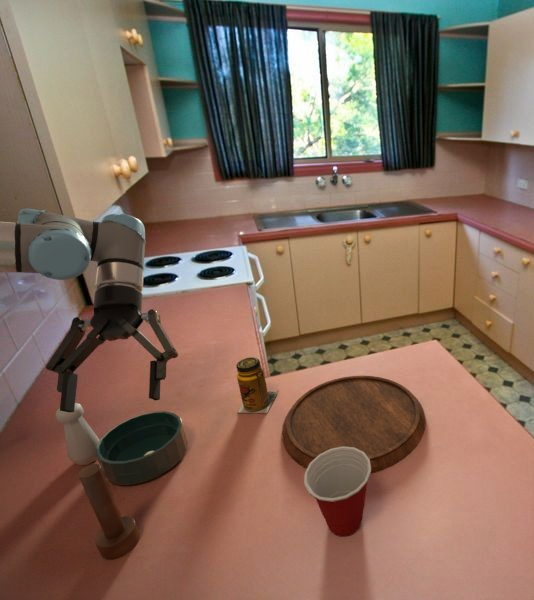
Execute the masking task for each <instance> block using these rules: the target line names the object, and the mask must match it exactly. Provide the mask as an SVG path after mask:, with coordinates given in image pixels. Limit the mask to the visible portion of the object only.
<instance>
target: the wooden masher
mask: <svg viewBox="0 0 534 600" xmlns="http://www.w3.org/2000/svg"><path fill="white" fill-rule="evenodd" d="M77 477H78V479H79V481H80V483H81V486H82V487H83V490H84V493H85V494H86V496H87V499H88V501H89V503H90V505H91V508H92V510H93V512H94V514H95V516H96V520H97V521H98V524H99V525H100V529H99V530H98V531H97V532H96V535H95V536H94V543H95V545H96V547H97V549H98V552H99V554H100V556H101V557H102V558H103V559H105V560H108V561H109V560H111V561H112V560H117V559H120V558H121V557H124V556H126V555H127V554H129V553H130V552H131V551H132V550H133V549H134V548H135V547H136V545H137V544H138V542H139V540H140V537H141V533H140V531H139V528H138V526H137V524H136V520H135V519H134V518H133V517H132V516H128V515H121V512H120V510H119V508H118V505H117V503H116V500H115V498H114V496H113V493H112V491H111V488H110V486H109V483H108V480H107V479H106V477H105V476H104V473H103V471H102V469H101V466H100V464H99V463H90V464H88V465H85V467H83V468H82V469H81V470H80V471H79V472H78V476H77Z"/></svg>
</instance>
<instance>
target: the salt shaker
mask: <svg viewBox="0 0 534 600" xmlns="http://www.w3.org/2000/svg"><path fill="white" fill-rule="evenodd" d="M83 415H84V407H83V406H82V405H81V404H80V403H78V402H75V408H74V412H70V413H69V412H64V411H60V407H59V408H58V409H57V410H56V412H55V418H56V420H57V422H59V423H61V424H62V425H63V430H64V438H65V439H64V440H65V445H66V452H67V457H68V459H69V461H71V462H73V463H74V464H75V465H77V466H89V465H91V464H93V462H96V461H98V459H97V457H96V446H97V444H98V442H99V440H100V438H99V437H98V436H97V434H96V433H95V432H94V430H93V428H92V427H91V426H90V425H89V423H88V422H87V420H86V419H85V418H84V416H83Z"/></svg>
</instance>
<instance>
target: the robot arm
mask: <svg viewBox="0 0 534 600" xmlns="http://www.w3.org/2000/svg"><path fill="white" fill-rule="evenodd" d="M146 244H147V242H146V227H145V225H144V223H143V222H142V220H140V219H139V218H136V217H135V216H133V215H130V214H125V213H120V214H117V213H110V214H107V215H104V216H103V218H102V219H101V222H100V221H93V220H88V219H83V218H78V217H73V216H69V215H64V214H59V213H54V212H51V211H48V210H41V209H40V210H39V209H33V208H22V209H20V210H19V212H18V217H17V222H9V221H0V273H22V274H23V273H24V274H39V275H41V276H43V277H44V278H48V279H51V280H55V281H57V280H58V281H66V280H71V279H75V278H77V277H80V275H82V274H83V273H84V272H85V271H86V270H87V269H88V268H89V266H90V264H91V262H96V263H97V266H96V275H95V285H94V288H95V289H96V290H95V291H94V296H93V307H92V308H93V315H92V317H91V318H81V317H78V316H75V317H74V318H73V319H72V320H71V325H70V329H69V330H68V332H67V333H66V335H65V337H64V338H63V339H62V341H61V343H60V344H59V346H58V347H57V348H56V350H55V352H54V353H53V355H52V356H51V357H50V359H49V361H48V362H47V363H46V366H45V369H46V370H47V371H51V372H53V373H57V375H58V376H57V382H56V383H57V385H56V391H57V393H61V395H60V403H59V408H60V411H64V412H69V413H70V412H74V408H75V403H76V399H77V398H76V397H77V388H78V378H79V374H77V373H75V371H76V370H77V369H78V368H79V367H80V366H82V364H83V363H84V362H85V361H86V360H87V359H88V357H90V355H92V354H93V352H94V351H95V350H96V349H97V348H98V347H99V346H101V345H103V344H105V342H106V341H108V342H114V341H117V340H129V338H131V337H132V338H134V339H135V340H136V341H137V342H138V343H139V345H141V347H143V349H145V350H146V351H147V352H148V353H149V354H150V355H151V356H152V357H153V359H154V360H150V361H149V385H148V386H149V388H148V398H149V399H151V400H153V401H160V400H161V381H163V380H164V381H165V380H166V378H167V363H168V361H170V360H172V359H176V358H178V356H179V352H178V351H177V349H176V348H175V346H174V344H173V343H172V341H171V339H170V338H169V335H168V334H167V332H166V330H165V329H164V327H163V325H162V323H161V321H162V320H161V314H159V313H158V312H157V311H156V310H155V309H153V308H152V309H149V310H148V311H147V312H144V313H142V310H143V293H142V292H143V290H144V267H145V266H144V265H145V253H146V252H145V251H146ZM144 321H145V323H147V324H148V325H150V327H151V329H152V330H153V333H154V334H155V336H156V338H157V339H158V342H159V343H160V345H161V346H162V348H163V352H162V351H161V350H160V349H159V348H158V347H156V346H155V344H153V343H152V341H150V340H149V339H148V338H147V337H146V336H145V335H144V333H142V331H140V330H139V328H140V327H141V325H142V324H143V322H144ZM91 327H92V329H91V330H90V329H89V328H91ZM89 330H90V332H89ZM86 332H88V333H87V335H86ZM85 335H86V338H85V339H83V338H84V336H85ZM82 340H83V341H82ZM81 341H82V342H81Z"/></svg>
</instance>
